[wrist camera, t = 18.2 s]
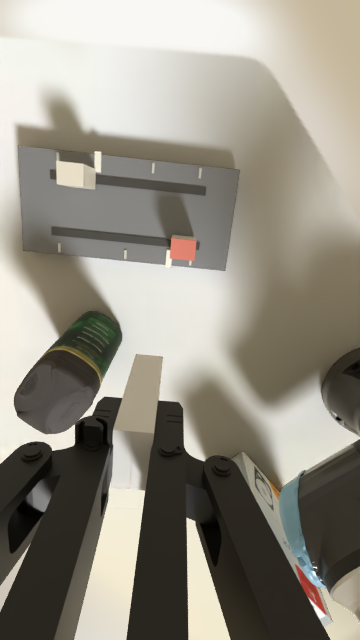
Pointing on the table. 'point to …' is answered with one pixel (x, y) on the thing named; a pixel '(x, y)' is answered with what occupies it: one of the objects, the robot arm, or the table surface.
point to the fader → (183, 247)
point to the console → (126, 208)
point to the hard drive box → (279, 528)
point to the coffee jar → (68, 375)
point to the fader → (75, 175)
